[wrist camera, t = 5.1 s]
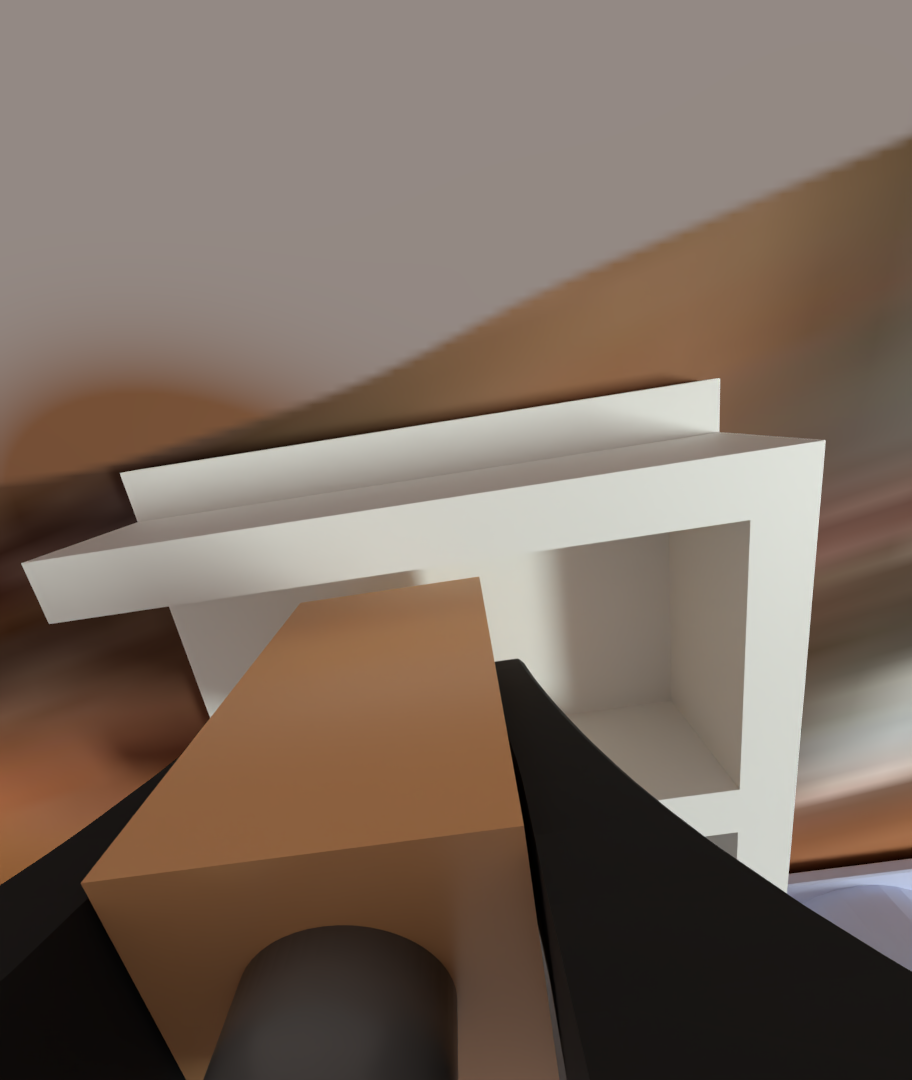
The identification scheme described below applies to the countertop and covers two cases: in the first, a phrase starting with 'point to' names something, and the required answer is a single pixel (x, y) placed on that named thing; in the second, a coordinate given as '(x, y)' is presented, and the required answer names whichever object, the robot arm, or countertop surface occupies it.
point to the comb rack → (522, 575)
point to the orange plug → (342, 861)
